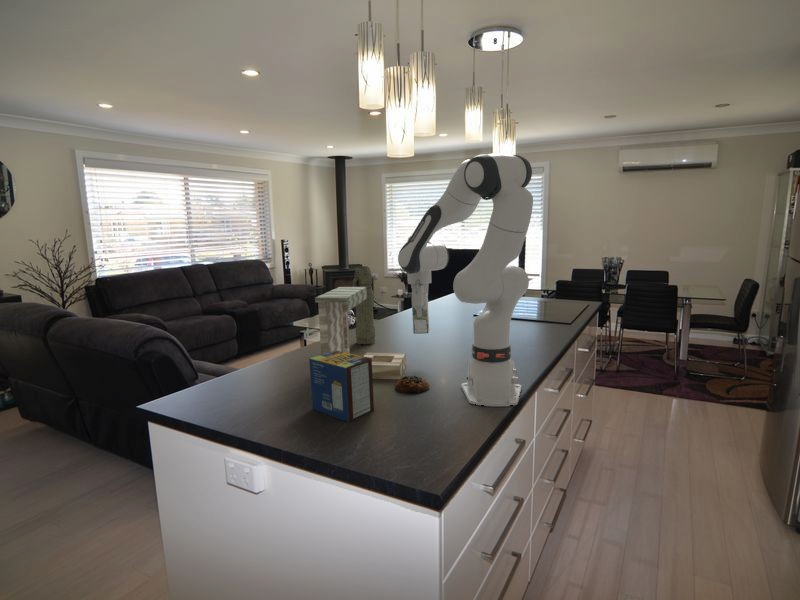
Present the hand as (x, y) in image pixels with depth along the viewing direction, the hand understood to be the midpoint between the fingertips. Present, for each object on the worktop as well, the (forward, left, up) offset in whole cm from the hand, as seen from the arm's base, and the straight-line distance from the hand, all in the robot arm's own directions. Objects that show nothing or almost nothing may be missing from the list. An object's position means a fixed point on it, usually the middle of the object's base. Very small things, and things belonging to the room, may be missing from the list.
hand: (420, 315), depth 167 cm
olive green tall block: (+32, +29, -19) cm, 48 cm away
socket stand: (-10, +19, -19) cm, 29 cm away
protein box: (-45, +18, -19) cm, 52 cm away
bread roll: (-25, +1, -20) cm, 32 cm away
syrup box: (0, 0, -7) cm, 7 cm away
